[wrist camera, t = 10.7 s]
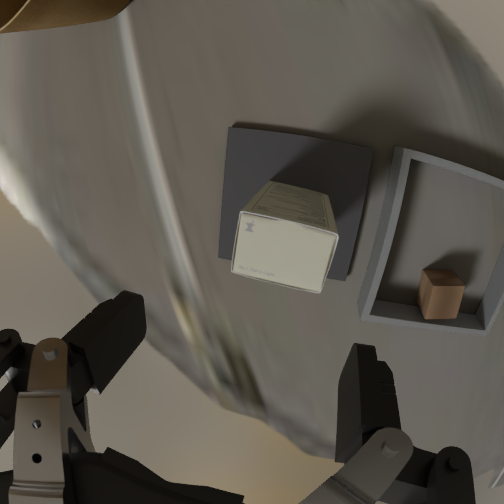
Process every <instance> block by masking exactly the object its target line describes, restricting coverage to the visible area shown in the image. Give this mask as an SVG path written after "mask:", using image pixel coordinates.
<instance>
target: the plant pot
mask: <svg viewBox="0 0 504 504" xmlns="http://www.w3.org/2000/svg"><path fill="white" fill-rule="evenodd" d="M129 1H130V0H0V33H9V32H19V31H29V30H39V29H47V28H56V27H63V26H70V25H77V24H84V23H90V22H96V21H102V20H107V19H109V18H112V17H114V16H115V15H117V14H118V13H119V12H121V11H122V10H123V9H124V8H125V7H126V5H127V4H128V3H129Z"/></svg>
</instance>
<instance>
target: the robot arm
mask: <svg viewBox="0 0 504 504" xmlns="http://www.w3.org/2000/svg"><path fill="white" fill-rule="evenodd" d="M146 328H147V327H146V317H145V307H144V299H143V296H142V295H140V294H136V293H133V292H129V291H126V290H124V291H122V292H121V293H120V294H118V295H117V296H116V297H115V298H114V299H109V300H107V301H105V302H103V303H100V304H99V305H98V306H97V307H96V308H94V309H93V310H92V312H91V313H89V314H88V315H87V316H86V317H85V319H84V318H83V319H82V320H81V321H80V322H79V323H78V324H77V325H76V326H75V327H73V328H72V329H71V330H70V331H69V332H68V333H67V334H66V335H65V336H64V337H63V338H62V339H59V338H47V339H44V340H42V341H40V342H39V343H38V344H37V345H33V344H29V343H24V342H22V340H21V337H20V335H19V333H18V332H17V331H16V330H14V329H4V330H1V331H0V378H1V377H2V376H3V375H4V374H5V375H6V377H7V379H8V381H9V382H8V383H7V385H6V386H5V387H4V388H3V389H2V390H1V391H0V448H1V447H2V445H3V444H4V443H5V441H6V440H7V439H8V437H9V436H10V434H11V433H12V432H13V430H14V450H13V470H10V471H5V472H0V504H244V503H242V502H243V499H244V496H243V495H239V494H235V493H230V492H227V491H223V490H219V489H215V488H212V487H208V486H198V485H188V484H180V483H172V482H168V481H166V480H164V479H162V478H161V477H160V476H158V475H157V474H155V473H153V472H152V471H151V470H149V469H148V468H147V467H145V466H144V465H142V464H141V463H140V462H138V461H137V460H135V459H132V458H130V457H128V456H126V455H124V454H121V453H119V452H117V451H115V450H113V449H111V448H109V447H107V449H106V450H105V452H104V453H97V452H95V448H94V446H93V443H92V440H91V434H90V426H89V416H88V405H87V404H88V403H87V396H86V393H87V392H88V391H89V390H91V391H93V392H95V393H97V394H101V393H102V391H103V390H104V389H105V387H106V386H107V385H108V384H109V382H110V381H111V380H112V379H113V377H114V376H115V374H116V373H117V372H118V371H119V370H120V368H121V367H122V366H123V364H124V363H125V362H126V361H127V359H128V358H129V357H130V356H131V354H132V353H133V351H135V349H136V348H137V347H138V346H139V344H140V343H141V342H142V341H143V339H144V337H145V334H146ZM395 394H396V390H395V386H394V379H393V373H392V371H391V370H390V368H389V367H388V365H387V364H386V362H385V361H377V355H376V349H375V346H372V345H365V344H358V343H354V344H353V346H352V348H351V351H350V353H349V356H348V358H347V361H346V363H345V365H344V368H343V370H342V373H341V376H340V379H339V385H338V412H337V435H336V452H335V462H340V463H344V466H343V467H342V468H341V469H340V470H339V471H338V472H337V473H336V474H334V476H331V477H330V478H328V479H327V480H326V481H325V482H324V483H323V484H321V486H319V487H318V488H317V489H316V490H314V491H313V492H312V493H311V494H310V495H309V496H307V497H306V498H305V499H304V500H303V501H301V502H300V503H299V504H375V503H376V502H377V501H381V502H385V503H388V504H476V503H475V492H474V483H473V475H472V468H471V462H470V459H469V457H468V455H467V454H466V453H465V452H464V451H463V450H462V449H460V448H458V447H453V446H450V447H445V448H443V449H442V450H441V451H440V452H439V453H438V454H436V453H432V452H429V451H425V450H422V449H419V448H416V447H415V446H413V444H412V441H411V439H410V438H409V436H408V435H407V434H406V433H404V432H403V431H402V430H401V424H400V416H399V409H398V403H397V396H396V395H395Z"/></svg>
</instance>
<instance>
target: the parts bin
mask: <svg viewBox="0 0 504 504" xmlns="http://www.w3.org/2000/svg"><path fill="white" fill-rule="evenodd" d="M411 159H414V160H418V161H421V162H425V163H428V164H432V165H435V166H439V167H442V168H445V169H448V170H451V171H455V172H458V173H461V174H464V175H467V176H469V177H472V178H475V179H478V180H481V181H484V182H486V183H489V184H492V185H494V186H497V187H499V188H502V189H504V181H503V180H500V179H498V178H495V177H493V176H490V175H488V174H485V173H482V172H480V171H477V170H474V169H472V168H469V167H466V166H463V165H460V164H457V163H454V162H451V161H448V160H445V159H442V158H439V157H435V156H432V155H429V154H425V153H422V152H418V151H415V150H411V149H407V148H403V147H399V146H394V151H393V157H392V163H391V169H390V174H389V179H388V185H387V190H386V194H385V199H384V204H383V209H382V213H381V217H380V222H379V226H378V230H377V234H376V238H375V242H374V246H373V250H372V254H371V257H370V261H369V265H368V268H367V272H366V275H365V279H364V282H363V285H362V289H361V292H360V295H359V298H358V302H357V304H358V310H359V317H360V320H363V321H369V322H376V323H383V324H389V325H396V326H403V327H411V328H418V329H426V330H434V331H442V332H451V333H459V334H469V335H478V336H487V335H488V333H489V331H490V329H491V327H492V325H493V323H494V321H495V319H496V317H497V315H498V313H499V311H500V309H501V307H502V305H503V302H504V243H503V246H502V249H501V252H500V255H499V258H498V261H497V264H496V266H495V269H494V272H493V274H492V277H491V279H490V282H489V284H488V287H487V289H486V292H485V294H484V296H483V299H482V301H481V303H480V305H479V308H478V310H477V312H476V314H475V315H473V314H466V313H459V312H458V313H457V317H456V318H452V319H425V318H424V316H423V314H422V311H421V309H420V307H419V306H413V305H407V304H401V303H394V302H388V301H382V300H376V299H375V297H376V294H377V291H378V288H379V285H380V282H381V279H382V275H383V272H384V269H385V266H386V262H387V259H388V255H389V252H390V248H391V245H392V241H393V237H394V233H395V229H396V225H397V221H398V217H399V213H400V209H401V205H402V200H403V196H404V191H405V186H406V181H407V176H408V171H409V165H410V160H411Z"/></svg>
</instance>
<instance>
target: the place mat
mask: <svg viewBox="0 0 504 504" xmlns="http://www.w3.org/2000/svg"><path fill="white" fill-rule="evenodd" d="M372 156H373V149H372V148H367V147H363V146H358V145H353V144H348V143H343V142H338V141H332V140H327V139H321V138H315V137H309V136H302V135H296V134H289V133H281V132H273V131H265V130H256V129H246V128H235V127H229V128H228V139H227V149H226V160H225V172H224V184H223V197H222V210H221V223H220V238H219V253H218V258H223V259H228V260H232V255H233V249H234V243H235V236H236V231H237V225H238V220H239V215H240V211H241V210H242V209H243V208H244V207H245V206H246V205H247V203H248V202H249V201H250V200H251V199H252V198H253V197H254V196H255V195H256V194H257V193H258V192H259V191H260V190H261V189H262V187H263V186H264V185H265V184H266V183H267V182H268V181H273V182H278V183H283V184H287V185H292V186H296V187H300V188H304V189H308V190H312V191H315V192H319V193H323V194H326V195H328V197H329V200H330V204H331V208H332V211H333V215H334V219H335V223H336V227H337V231H338V234H339V239H338V243H337V246H336V250H335V253H334V256H333V259H332V262H331V265H330V268H329V271H328V274H327V277H326V278H330V279H336V280H341V281H345V280H346V277H347V273H348V269H349V265H350V261H351V257H352V253H353V249H354V245H355V241H356V237H357V232H358V228H359V223H360V219H361V214H362V209H363V205H364V200H365V195H366V189H367V184H368V179H369V173H370V167H371V162H372Z"/></svg>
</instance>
